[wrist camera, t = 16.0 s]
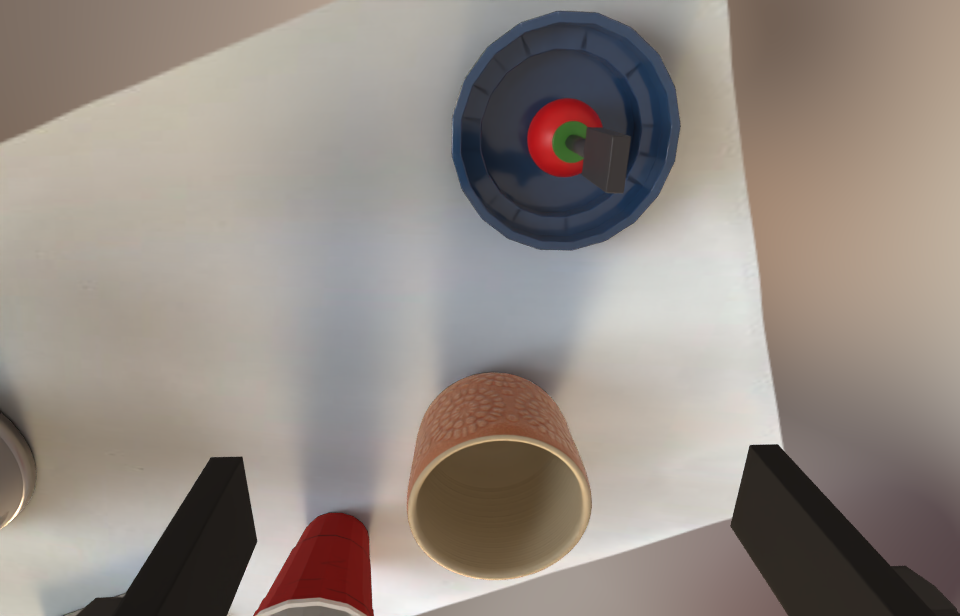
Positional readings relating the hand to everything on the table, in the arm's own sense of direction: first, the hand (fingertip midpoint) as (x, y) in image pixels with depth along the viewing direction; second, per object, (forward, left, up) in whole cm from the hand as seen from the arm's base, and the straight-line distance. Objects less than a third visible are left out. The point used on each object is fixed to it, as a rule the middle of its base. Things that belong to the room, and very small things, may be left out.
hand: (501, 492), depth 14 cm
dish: (+6, +7, -28) cm, 29 cm away
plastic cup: (-11, -29, -28) cm, 42 cm away
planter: (+2, -16, -28) cm, 33 cm away
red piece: (+6, +7, -27) cm, 29 cm away
